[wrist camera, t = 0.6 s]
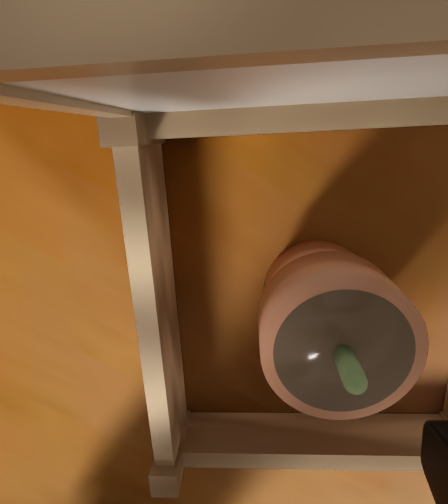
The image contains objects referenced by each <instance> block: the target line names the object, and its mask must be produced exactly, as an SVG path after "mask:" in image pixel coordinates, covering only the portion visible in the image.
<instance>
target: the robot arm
mask: <svg viewBox="0 0 448 504" xmlns="http://www.w3.org/2000/svg"><path fill="white" fill-rule="evenodd" d="M420 457H421V464H422V468H423V471H424V474H425V476H426V479H427V482H428V484H429V487H430V490H431V492H432V495H433V497H434V500H435V503H436V504H448V420H446V419H442V420H427V421H425V423H424V425H423V432H422V443H421V456H420Z"/></svg>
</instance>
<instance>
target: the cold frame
mask: <svg viewBox="0 0 448 504" xmlns="http://www.w3.org/2000/svg"><path fill="white" fill-rule="evenodd" d="M131 112H132V117H116V118H107V117H99V116H96V119H97V126H98V133H99V140H100V147H101V148H105V147H112V152H113V160H114V167H115V174H116V182H117V189H118V197H119V204H120V211H121V219H122V226H123V234H124V241H125V248H126V256H127V263H128V271H129V278H130V285H131V293H132V300H133V307H134V315H135V322H136V330H137V337H138V344H139V352H140V359H141V367H142V374H143V381H144V389H145V396H146V403H147V411H148V418H149V426H150V433H151V440H152V448H153V455H154V457H153V461H152V464H151V468H150V471H149V474H148V480H149V487H150V493H151V497H155V498H179V493H180V487H181V482H182V477H183V472H184V467H189V468H247V469H305V470H363V471H421V472H424V471H423V468H422V464H421V457H420V456H421V443H422V432H423V425H424V423H425V421H427V420H442V419H446V420H448V382H447V388H446V394H445V401H444V407H443V411H439V414H385V413H375V414H372V415H370V416H366V417H362V418H357V419H350V420H328V419H322V418H317V417H314V416H310V415H307V414H305V413H213V412H190V410H187V405H186V395H185V384H184V374H183V364H182V353H181V343H180V332H179V322H178V311H177V301H176V290H175V280H174V270H173V259H172V249H171V238H170V228H169V217H168V207H167V196H166V186H165V176H164V165H163V155H162V144H163V143H165V139H173V138H192V137H212V136H232V135H252V134H271V133H291V132H311V131H330V130H350V129H370V128H390V127H409V126H429V125H448V96H440V97H422V98H405V99H387V100H369V101H351V102H334V103H316V104H298V105H280V106H262V107H245V108H227V109H209V110H191V111H174V112H156V113H144V112H139V111H135V110H133V111H131Z"/></svg>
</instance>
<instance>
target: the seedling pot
mask: <svg viewBox="0 0 448 504" xmlns="http://www.w3.org/2000/svg"><path fill="white" fill-rule="evenodd" d="M258 327H259V346H260V360H261V365H262V369H263V373H264V375H265V377H266V380H267V382H268V383H269V385H270V386H271V388H272V389H273V390H274V392H275V393H276V394H277V395H278V396H279V397H280V398H281V399H282V400H283V401H284V402H286V403H287V404H288V405H290V406H291V407H293V408H295V409H296V410H298V411H300V412H303V413H305V414H307V415H310V416H314V417H317V418H322V419H328V420H350V419H357V418H362V417H366V416H370V415H372V414H375V413H378V412H380V411H382V410H384V409H386V408H388V407H390V406H391V405H393V404H394V403H396V402H397V401H399V400H400V399H401V398H402V397H403V396H405V395H406V394H407V393H408V392H409V390H410V389H411V388H412V387H413V386H414V384H415V383H416V382H417V380H418V379H419V377H420V375H421V373H422V372H423V369H424V366H425V364H426V360H427V356H428V348H429V340H428V332H427V328H426V325H425V322H424V320H423V318H422V315H421V314H420V312H419V311H418V309H417V308H416V306H415V305H414V304H413V303H412V302H411V301H410V299H409V298H408V297H407V296H406V295H405V294H404V293H403V292H402V291H401V290H400V289H399V288H398V287H397V286H396V285H395V284H394V283H393V282H392V281H391V280H390V279H389V278H388V277H387V276H386V275H385V274H384V273H383V272H382V271H381V270H380V269H379V268H378V267H377V266H375V265H374V264H373V263H371V262H370V261H368V260H367V259H365V258H362V257H360V256H358V255H355V254H353V253H352V252H351V251H349V250H348V249H346V248H345V247H343V246H341V245H339V244H336V243H333V242H329V241H320V240H315V241H307V242H302V243H300V244H297V245H294V246H292V247H290V248H289V249H287V250H286V251H284V252H283V253H282V254H281V255H279V256H278V257H277V258H276V260H275V261H274V262H273V263H272V265H271V266H270V268H269V270H268V272H267V275H266V278H265V283H264V291H263V293H262V296H261V299H260V303H259V308H258Z"/></svg>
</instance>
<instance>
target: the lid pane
mask: <svg viewBox="0 0 448 504" xmlns="http://www.w3.org/2000/svg"><path fill="white" fill-rule="evenodd" d="M440 96H448V0H0V104H4V105H12V106H20V107H28V108H36V109H44V110H52V111H60V112H68V113H76V114H84V115H91V116H99V117H107V118H116V117H132V112H131V111H133V110H135V111H139V112H144V113H156V112H174V111H191V110H209V109H227V108H245V107H262V106H280V105H298V104H316V103H334V102H351V101H369V100H387V99H405V98H422V97H440Z"/></svg>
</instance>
